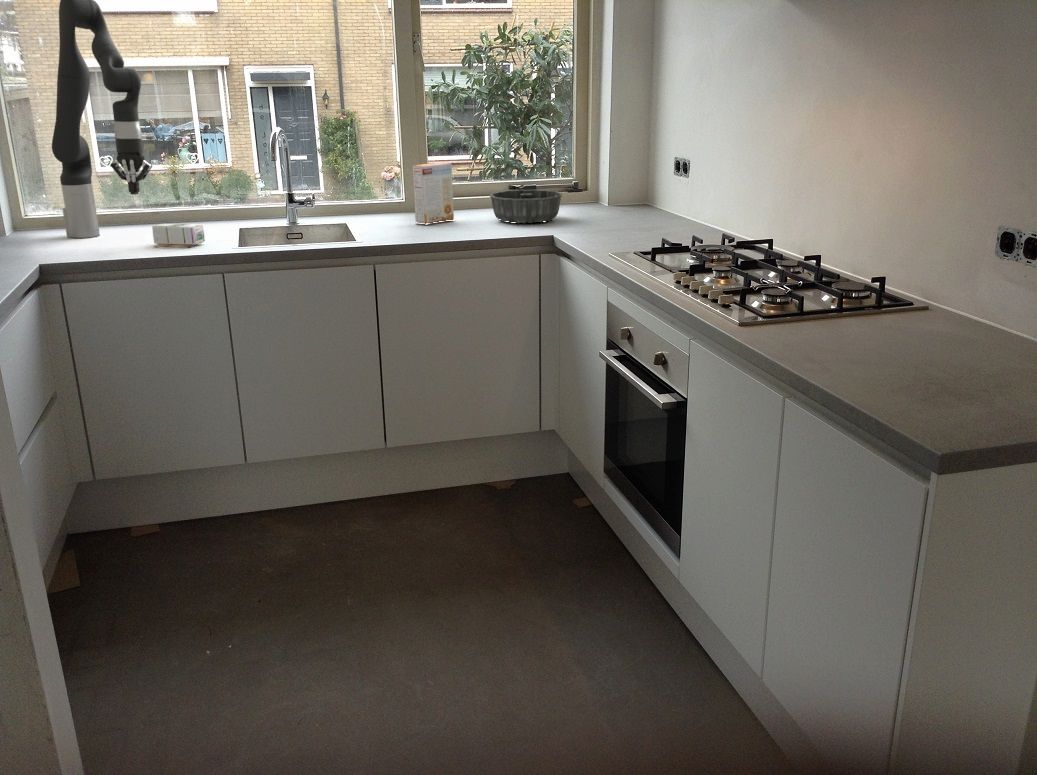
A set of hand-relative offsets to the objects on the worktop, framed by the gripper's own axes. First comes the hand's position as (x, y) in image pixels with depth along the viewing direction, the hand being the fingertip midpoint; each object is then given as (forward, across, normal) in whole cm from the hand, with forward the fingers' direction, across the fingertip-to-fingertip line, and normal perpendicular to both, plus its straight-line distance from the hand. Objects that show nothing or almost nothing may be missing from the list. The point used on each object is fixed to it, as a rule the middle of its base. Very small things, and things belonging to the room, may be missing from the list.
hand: (134, 194), depth 282 cm
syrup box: (+12, +6, +1) cm, 13 cm away
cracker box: (+13, +85, +52) cm, 101 cm away
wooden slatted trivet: (+15, +13, +1) cm, 20 cm away
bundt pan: (+12, +118, +59) cm, 132 cm away
